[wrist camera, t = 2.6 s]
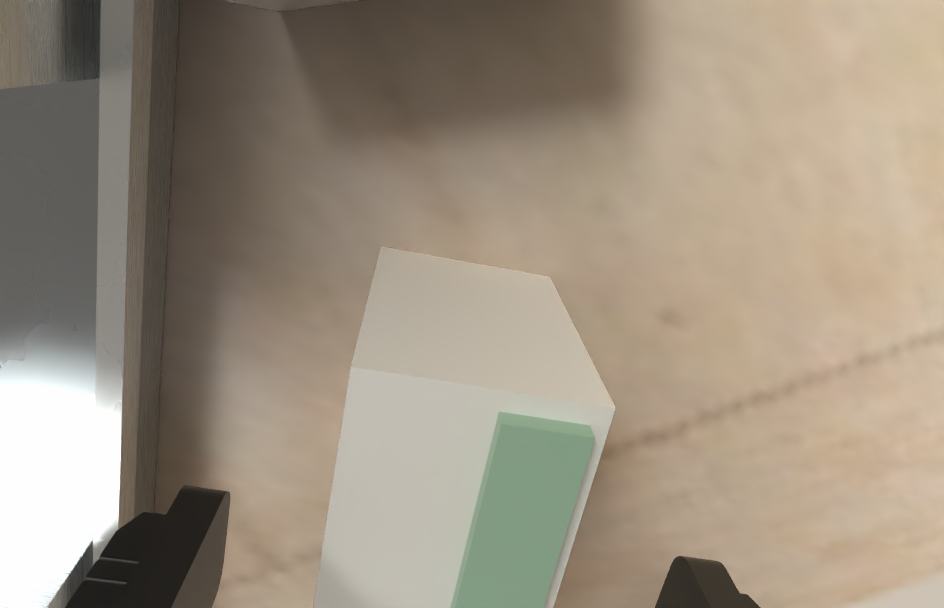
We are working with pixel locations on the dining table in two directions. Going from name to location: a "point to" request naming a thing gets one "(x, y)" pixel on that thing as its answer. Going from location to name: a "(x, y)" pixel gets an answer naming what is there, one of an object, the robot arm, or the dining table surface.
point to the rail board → (80, 279)
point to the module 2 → (461, 441)
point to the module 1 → (287, 3)
